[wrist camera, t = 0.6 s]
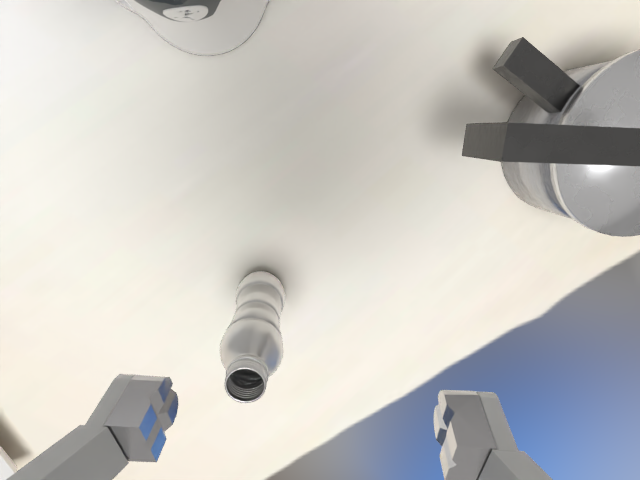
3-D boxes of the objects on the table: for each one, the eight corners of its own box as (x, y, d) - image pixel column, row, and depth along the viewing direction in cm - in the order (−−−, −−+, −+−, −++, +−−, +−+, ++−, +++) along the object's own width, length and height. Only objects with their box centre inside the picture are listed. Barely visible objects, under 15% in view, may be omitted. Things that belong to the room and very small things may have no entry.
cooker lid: (752, 52, 36) (879, 30, 28) (689, 234, 42) (781, 259, 34) (473, 33, 34) (528, 5, 26) (445, 230, 39) (484, 255, 31)
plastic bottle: (275, 260, 50) (266, 341, 30) (292, 302, 52) (293, 403, 33) (231, 275, 50) (194, 365, 31) (249, 316, 52) (225, 426, 33)
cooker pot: (683, 141, 49) (778, 144, 40) (592, 250, 53) (658, 276, 43) (517, -5, 42) (583, -44, 33) (426, 131, 46) (461, 132, 37)
